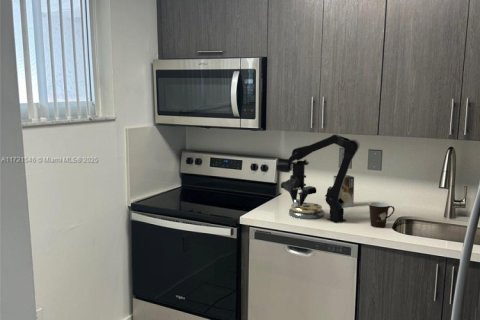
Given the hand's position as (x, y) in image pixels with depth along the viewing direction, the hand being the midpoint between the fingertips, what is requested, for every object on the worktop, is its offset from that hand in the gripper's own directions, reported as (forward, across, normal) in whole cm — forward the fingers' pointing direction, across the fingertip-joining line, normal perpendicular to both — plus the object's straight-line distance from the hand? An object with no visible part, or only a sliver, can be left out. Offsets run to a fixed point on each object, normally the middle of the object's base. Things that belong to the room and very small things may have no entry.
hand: (297, 204), depth 213 cm
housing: (+6, +1, +6) cm, 8 cm away
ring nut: (+3, +1, +6) cm, 7 cm away
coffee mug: (+5, +36, +17) cm, 40 cm away
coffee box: (+6, +1, +34) cm, 35 cm away
